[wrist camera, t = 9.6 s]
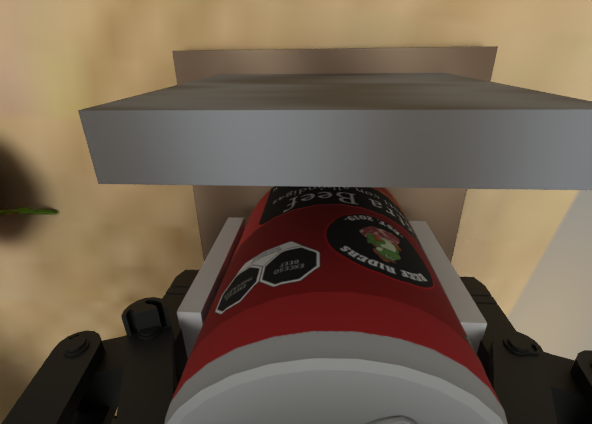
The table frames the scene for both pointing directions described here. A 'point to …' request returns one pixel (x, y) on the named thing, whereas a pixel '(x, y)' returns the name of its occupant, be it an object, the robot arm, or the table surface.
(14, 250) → the table surface
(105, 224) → the table surface
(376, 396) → the canned food
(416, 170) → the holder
